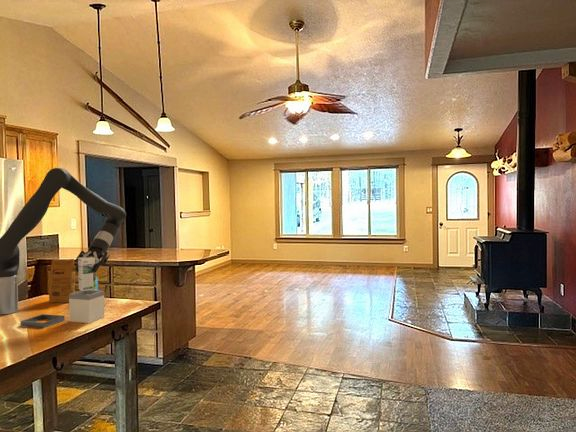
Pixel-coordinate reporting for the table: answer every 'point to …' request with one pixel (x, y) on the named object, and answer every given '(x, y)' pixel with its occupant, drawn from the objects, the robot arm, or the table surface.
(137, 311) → the table surface
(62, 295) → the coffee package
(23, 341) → the table surface
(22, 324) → the lower collar
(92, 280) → the syrup box
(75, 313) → the raised dock
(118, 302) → the table surface
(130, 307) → the table surface
